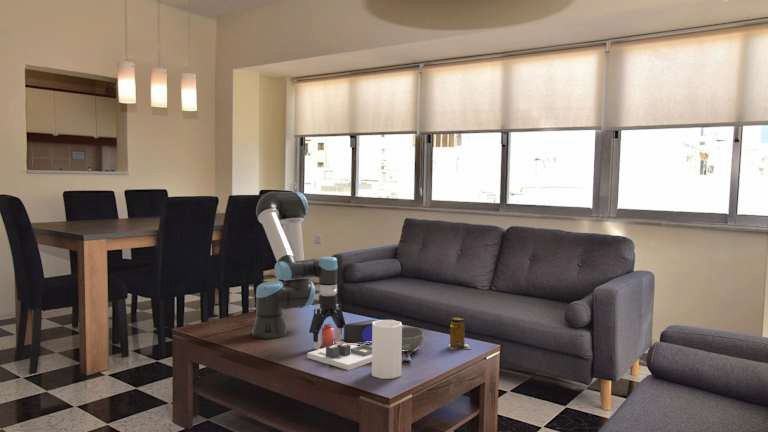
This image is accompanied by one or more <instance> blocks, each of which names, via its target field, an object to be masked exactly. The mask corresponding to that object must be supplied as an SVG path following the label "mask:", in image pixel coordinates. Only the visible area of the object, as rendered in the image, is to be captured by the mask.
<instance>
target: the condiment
mask: <svg viewBox="0 0 768 432" xmlns="http://www.w3.org/2000/svg"><path fill="white" fill-rule="evenodd" d="M450 321H451V322H450V327H449V332H450V333H449V343H448V347H449V349H451V350H470V349H471V347H470V345H469V344H467V343H465V336H466V335H465V332H466V331H465V330H466V329H465V326H466V325H465V319H464V318H462V317H453V318H451V320H450Z"/></svg>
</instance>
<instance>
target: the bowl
mask: <svg viewBox="0 0 768 432" xmlns="http://www.w3.org/2000/svg"><path fill="white" fill-rule="evenodd" d="M424 335H425V332H424V331H423V330H422V329H421V328H419V327H416V326H415V327H414V326H411V327H410V326H405V327H404V326H402V350H408V351H407V352H412V351H414V350H416V349H419V347H420V346H421V345H422V343H423V340H424V337H425V336H424Z"/></svg>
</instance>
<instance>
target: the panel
mask: <svg viewBox="0 0 768 432" xmlns="http://www.w3.org/2000/svg"><path fill="white" fill-rule="evenodd" d="M340 344H347V345H350V355H347V356H343V355H339V357H336V358H330V357H327V356H326V347H325V348H322V347H321V348H320V349H319V350H317V349H314V350H313V351H309V352H307V353H306V354H307V356H306V357H307V359H309V360H310V359H311V360H312V361H313V360H314V361H317V362H320V363H323V364H327V365H329V366H333V367H337V368H340V369H344V370H346V371H351V370H353V369H356V368H359V367H362V366H364V365H368V364H369V363H372V345H368V344H367V345H361V346H356V345H352V344H348V343H344V341H341V343H339V344H338V343H334V345H332V346H336V347H338V345H340Z"/></svg>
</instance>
